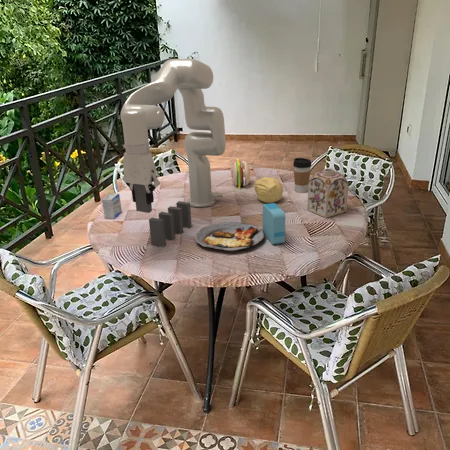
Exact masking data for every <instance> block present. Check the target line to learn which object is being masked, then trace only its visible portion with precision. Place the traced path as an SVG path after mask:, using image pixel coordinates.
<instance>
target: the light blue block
mask: <svg viewBox="0 0 450 450" xmlns="http://www.w3.org/2000/svg"><path fill="white" fill-rule="evenodd" d="M262 230H263V231H264V234H265V238H266V239H267V240H268V241H269V242H270V244H271V245H279V244H284V243H285V241H286V214H285V211H284V210H282V209H281V208H280V207H279V206H278V204H276V203H275V202H273V203H263V204H262Z"/></svg>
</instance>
